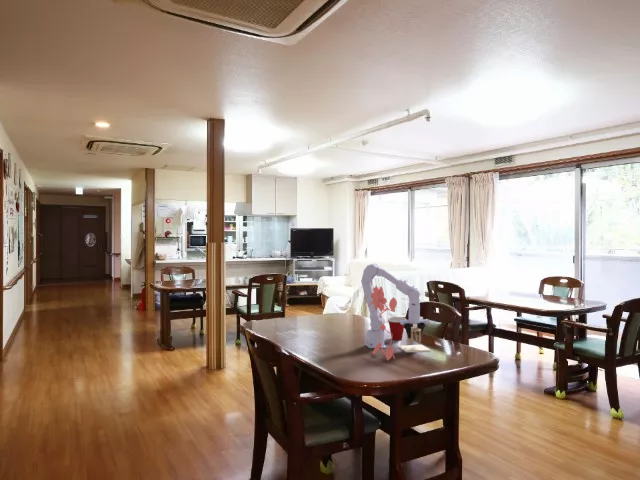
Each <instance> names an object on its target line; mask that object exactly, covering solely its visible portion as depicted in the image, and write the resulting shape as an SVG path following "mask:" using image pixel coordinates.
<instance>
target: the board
mask: <svg viewBox="0 0 640 480" xmlns="http://www.w3.org/2000/svg"><path fill="white" fill-rule="evenodd" d="M398 348H399V349H400V350H402V351H403V352H405V353H425V352H426V353H427V352H431V349H430V348H428V347H426V346H425V345H423V344H410V345H409V344H408V345H398Z"/></svg>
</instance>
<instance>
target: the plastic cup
mask: <svg viewBox="0 0 640 480" xmlns="http://www.w3.org/2000/svg"><path fill="white" fill-rule="evenodd" d="M386 320H387V322H388V326H389V332H390V333H391V334H390V333H389V334H390V337H392V341H402V340H403V335H404V330H405V327H404V325H402V324H400V320H407V318H405V317H401V316H390V317H388V318H387V319H386ZM392 334H393V336H392Z"/></svg>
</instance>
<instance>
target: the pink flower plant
mask: <svg viewBox="0 0 640 480" xmlns="http://www.w3.org/2000/svg"><path fill="white" fill-rule="evenodd" d="M372 288H373V292H374V293H372V294H371V298H372V299H373V301H372V302H371V303H370V304H369V305H371V304H372V303H373V304H374V308H375V310H377V309H379V311H380V319H381V316H382V314H383V313H384V312H386V311H390V312H393V313H395V312H396V310H395V309H396V307H397V304H398V301H397V299H396V298H395V297H392V298H391V299H390V300H389V302H388V300H387V298H386V297H385V293H384V289H383V287H382V286H380V287H378V286H377V285H375V287H372ZM387 302H388V306H387V304H386V303H387ZM369 305H368V304H367V307H368V306H369ZM381 324H382V319H381ZM386 327H387V326H386V325H385V324H384V325H381V326H380V329H381V330H384V331H386V332H387V333H388V334H390V335H391V333H390V331H389V330H387V328H386ZM380 329H379V344H378V345H377V346H376V347H375V348H373V351H372V355H374V354H376V353H377V352H380V351H382V353H383V355H385V357H386V360H387V361H390V359H391V358H392V357H393V359H394V360H396V357H395V355H394V350H393V349H394V348H393V347H392V346H391V345H392V341H393V340H392V337H391V336H390V337H391V338H390V343H389V346H388V347H387V348H386V350H385V351H384V348H382V346H381V345H382V343H380ZM392 336H393V334H392ZM380 347H381V350H380ZM362 359H363V360H364V361H366V362H370V363H371V360H370V361H369V360H367V359H364V358H363V356H362ZM372 363H373V364H376V362H375V361H372ZM379 364H380V365H381V364H382V365H384V363H383V362H382V363H381V362H379Z"/></svg>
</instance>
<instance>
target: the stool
mask: <svg viewBox="0 0 640 480" xmlns="http://www.w3.org/2000/svg"><path fill="white" fill-rule="evenodd" d="M418 331H419V335H418ZM414 332H415V341H417V342H418V343H421V342H422V334H421V329H420V328H418V327H417V326H414V327H412V326H411V338H408V337H407V341H408V342H411V344H414Z"/></svg>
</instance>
